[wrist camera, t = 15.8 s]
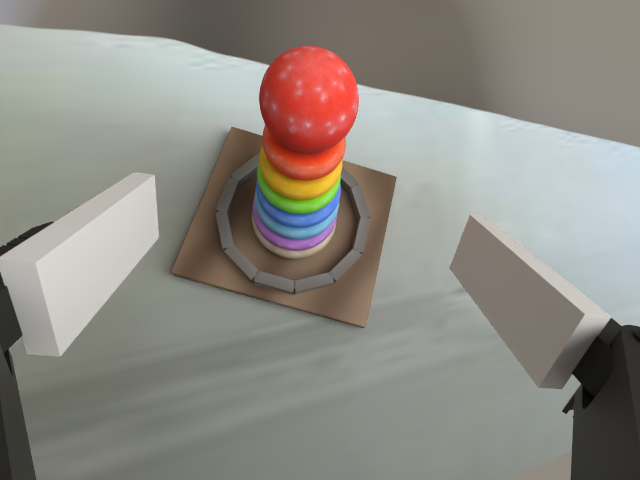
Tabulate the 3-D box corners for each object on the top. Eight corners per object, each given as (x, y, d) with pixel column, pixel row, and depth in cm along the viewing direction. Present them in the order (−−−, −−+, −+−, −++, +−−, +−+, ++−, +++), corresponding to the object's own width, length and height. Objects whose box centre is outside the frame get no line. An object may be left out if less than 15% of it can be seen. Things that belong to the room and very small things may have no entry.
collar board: (174, 275, 31) (165, 268, 28) (232, 133, 36) (230, 117, 33) (362, 327, 32) (370, 326, 29) (392, 182, 37) (401, 169, 34)
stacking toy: (341, 196, 34) (419, 33, 16) (323, 270, 31) (392, 171, 14) (266, 174, 34) (262, -17, 16) (241, 248, 31) (203, 116, 13)
